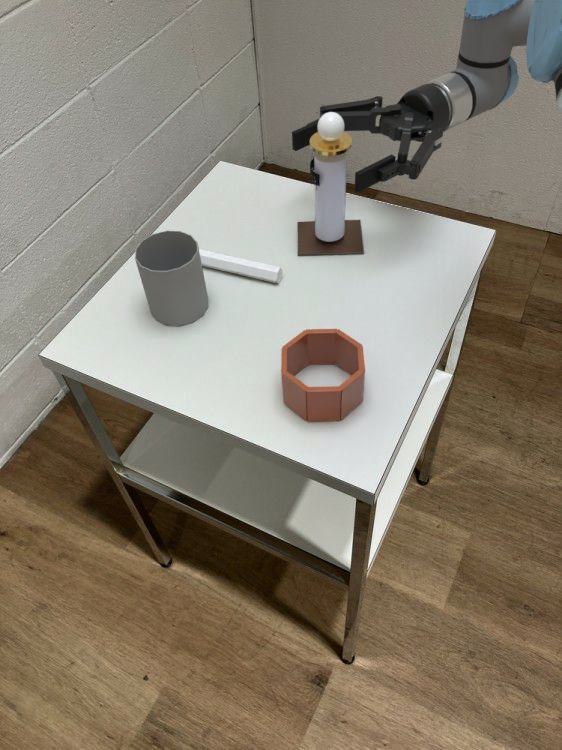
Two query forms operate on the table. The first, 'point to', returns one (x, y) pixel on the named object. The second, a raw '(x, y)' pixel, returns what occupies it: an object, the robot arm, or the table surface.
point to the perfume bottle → (330, 176)
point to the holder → (322, 350)
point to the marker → (240, 266)
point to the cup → (172, 277)
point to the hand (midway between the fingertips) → (323, 161)
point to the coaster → (343, 246)
